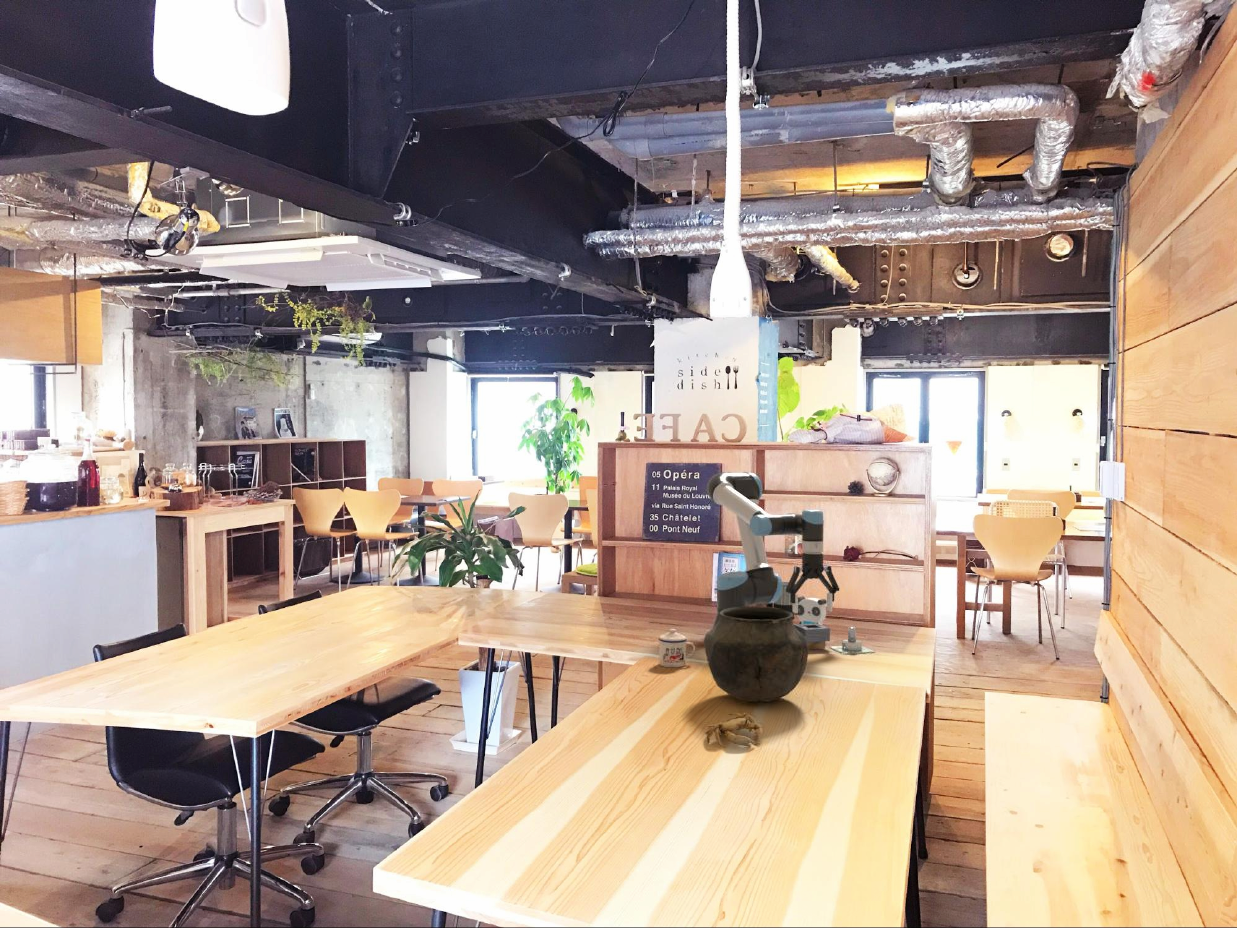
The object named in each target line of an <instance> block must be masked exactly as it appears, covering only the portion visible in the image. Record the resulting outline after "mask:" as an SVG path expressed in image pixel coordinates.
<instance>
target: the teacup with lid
mask: <svg viewBox="0 0 1237 928" xmlns="http://www.w3.org/2000/svg"><path fill="white" fill-rule="evenodd" d="M658 641H659V648H658V649H659V652H658V655H659V656H658V657H659V659H658V661H659V662H658V663H659V665H660V666H662V667H664V668H674V669H675V668H682V667H685V665H686V658H687V659H688V658H691V657H692V656H693V655H694V654H695V651H696V646H695V644H694V643H693V642H691V641H690V642H689V641H687V637H686V636H684V635H682V634H680V633H679V632H677V629H675V628H670V629H669V631H668V632H666V633H665V634H661V635H660V636H659V637H658ZM687 645H690V646H691V647H692V650H691V652H690V653H689V654H686V647H687Z"/></svg>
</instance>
